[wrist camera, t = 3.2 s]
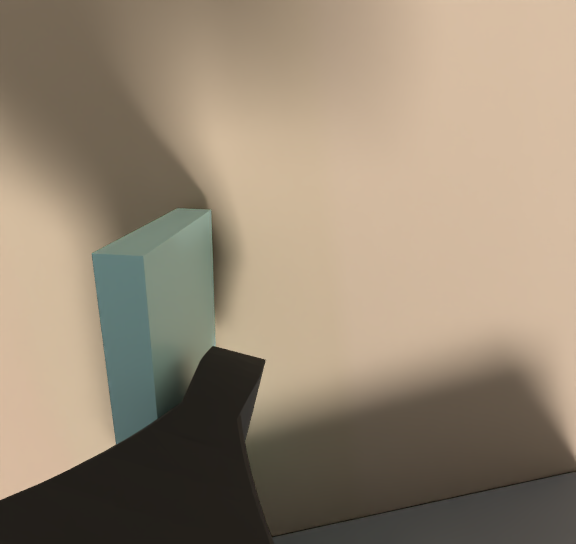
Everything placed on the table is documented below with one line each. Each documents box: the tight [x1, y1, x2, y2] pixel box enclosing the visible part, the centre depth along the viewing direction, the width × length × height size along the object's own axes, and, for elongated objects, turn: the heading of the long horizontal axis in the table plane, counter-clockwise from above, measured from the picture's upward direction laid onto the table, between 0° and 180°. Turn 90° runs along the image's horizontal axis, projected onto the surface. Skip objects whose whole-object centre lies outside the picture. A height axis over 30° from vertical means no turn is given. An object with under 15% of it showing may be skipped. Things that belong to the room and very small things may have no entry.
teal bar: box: [92, 208, 216, 444], centre depth 10 cm, size 10×2×4 cm, turn 179°
